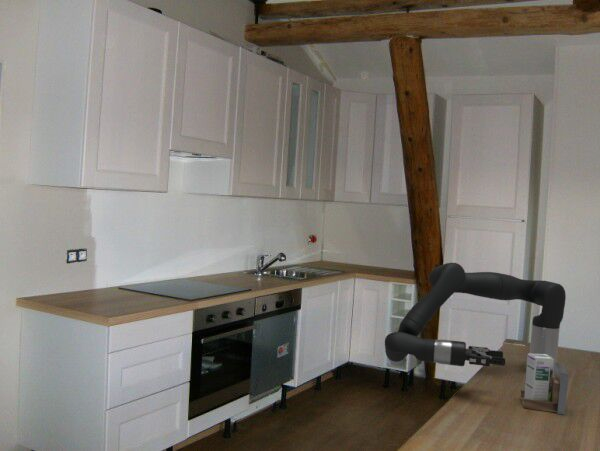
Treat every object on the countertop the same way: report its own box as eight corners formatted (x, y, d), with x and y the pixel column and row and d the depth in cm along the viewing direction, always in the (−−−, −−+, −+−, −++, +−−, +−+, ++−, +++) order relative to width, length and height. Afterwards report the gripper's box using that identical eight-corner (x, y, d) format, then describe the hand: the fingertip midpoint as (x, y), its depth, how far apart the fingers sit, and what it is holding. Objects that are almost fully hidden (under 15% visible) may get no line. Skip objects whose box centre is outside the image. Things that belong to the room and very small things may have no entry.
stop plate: (551, 401, 197) (554, 363, 197) (558, 402, 197) (561, 363, 196) (557, 413, 186) (561, 372, 185) (564, 414, 185) (568, 373, 185)
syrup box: (531, 405, 190) (536, 357, 189) (523, 399, 196) (527, 352, 195) (550, 406, 190) (554, 358, 189) (541, 400, 196) (545, 353, 195)
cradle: (520, 397, 199) (522, 370, 198) (551, 402, 196) (554, 374, 196) (523, 407, 188) (526, 379, 188) (556, 412, 186) (559, 383, 186)
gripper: (450, 345, 192) (506, 351, 188) (450, 335, 206) (503, 341, 202) (448, 370, 192) (505, 376, 189) (448, 359, 206) (501, 364, 202)
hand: (504, 358), depth 195 cm, fingers open, 8 cm apart
